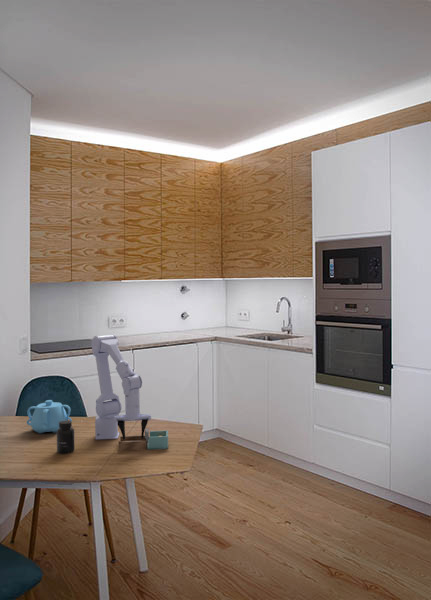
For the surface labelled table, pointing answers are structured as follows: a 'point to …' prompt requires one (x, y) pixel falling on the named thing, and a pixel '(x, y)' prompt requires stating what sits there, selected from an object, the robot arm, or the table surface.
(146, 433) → the plunger
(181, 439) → the table surface
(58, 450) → the supplement bottle
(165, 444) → the teal open box
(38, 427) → the decorative pot
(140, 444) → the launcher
